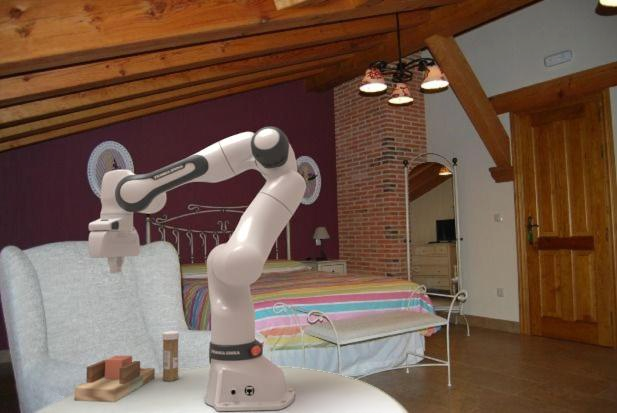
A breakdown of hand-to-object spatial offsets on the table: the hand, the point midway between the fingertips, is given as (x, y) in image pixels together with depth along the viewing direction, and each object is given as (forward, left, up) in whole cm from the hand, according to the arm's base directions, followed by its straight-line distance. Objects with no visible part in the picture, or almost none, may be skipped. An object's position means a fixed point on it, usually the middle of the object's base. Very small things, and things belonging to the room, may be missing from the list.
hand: (115, 273), depth 132 cm
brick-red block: (-3, +3, -28) cm, 28 cm away
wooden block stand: (-4, +4, -31) cm, 31 cm away
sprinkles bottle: (-14, -6, -31) cm, 35 cm away
